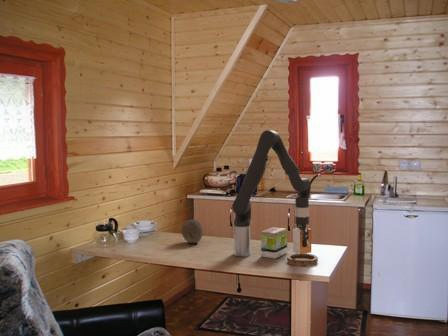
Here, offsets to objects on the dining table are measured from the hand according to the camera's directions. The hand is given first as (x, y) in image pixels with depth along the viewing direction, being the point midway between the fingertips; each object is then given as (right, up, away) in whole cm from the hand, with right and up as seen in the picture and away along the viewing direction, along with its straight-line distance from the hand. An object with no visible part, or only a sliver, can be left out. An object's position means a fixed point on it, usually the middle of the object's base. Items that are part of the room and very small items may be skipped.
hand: (302, 244), depth 267 cm
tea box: (-13, -9, +17) cm, 23 cm away
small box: (0, -4, 0) cm, 4 cm away
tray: (0, -10, +1) cm, 10 cm away
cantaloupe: (-63, -7, +49) cm, 80 cm away
